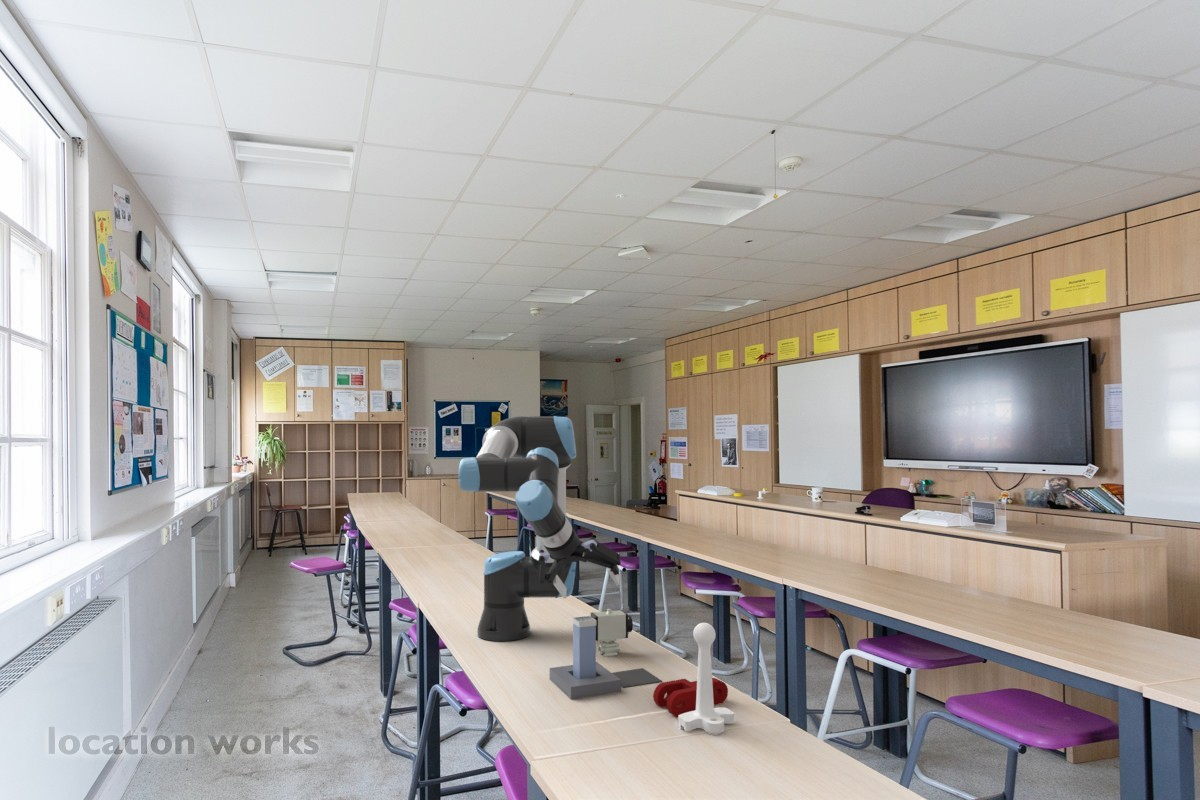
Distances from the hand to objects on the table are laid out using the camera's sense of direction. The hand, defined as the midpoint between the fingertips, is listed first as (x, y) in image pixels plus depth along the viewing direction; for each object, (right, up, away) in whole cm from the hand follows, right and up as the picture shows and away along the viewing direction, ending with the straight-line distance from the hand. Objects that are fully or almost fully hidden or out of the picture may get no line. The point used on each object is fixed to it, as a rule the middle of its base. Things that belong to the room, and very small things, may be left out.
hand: (591, 587), depth 172 cm
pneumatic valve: (+4, -22, +16) cm, 28 cm away
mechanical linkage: (+22, -21, -20) cm, 36 cm away
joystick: (+24, -20, -31) cm, 44 cm away
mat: (+10, -21, -3) cm, 23 cm away
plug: (-1, -20, -8) cm, 22 cm away
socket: (-1, -21, -8) cm, 22 cm away
